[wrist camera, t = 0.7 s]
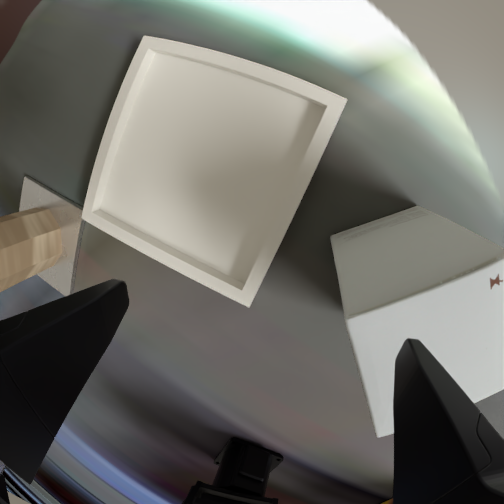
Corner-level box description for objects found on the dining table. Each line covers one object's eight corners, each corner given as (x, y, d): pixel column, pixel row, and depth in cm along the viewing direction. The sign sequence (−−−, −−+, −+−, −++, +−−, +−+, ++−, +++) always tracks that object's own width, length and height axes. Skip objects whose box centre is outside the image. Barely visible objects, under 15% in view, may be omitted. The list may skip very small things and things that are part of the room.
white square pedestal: (72, 296, 29) (37, 318, 24) (18, 255, 29) (-15, 269, 24) (87, 210, 26) (45, 221, 20) (28, 175, 26) (-11, 182, 21)
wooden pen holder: (64, 269, 27) (4, 299, 19) (30, 259, 28) (-25, 284, 20) (60, 210, 26) (-7, 229, 18) (25, 206, 27) (-35, 223, 19)
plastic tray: (254, 296, 25) (249, 307, 23) (94, 214, 26) (81, 218, 24) (344, 105, 19) (347, 99, 17) (155, 42, 20) (144, 35, 18)
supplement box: (327, 233, 22) (339, 313, 10) (419, 203, 20) (516, 247, 8) (353, 320, 24) (373, 442, 12) (438, 292, 22) (511, 390, 10)
